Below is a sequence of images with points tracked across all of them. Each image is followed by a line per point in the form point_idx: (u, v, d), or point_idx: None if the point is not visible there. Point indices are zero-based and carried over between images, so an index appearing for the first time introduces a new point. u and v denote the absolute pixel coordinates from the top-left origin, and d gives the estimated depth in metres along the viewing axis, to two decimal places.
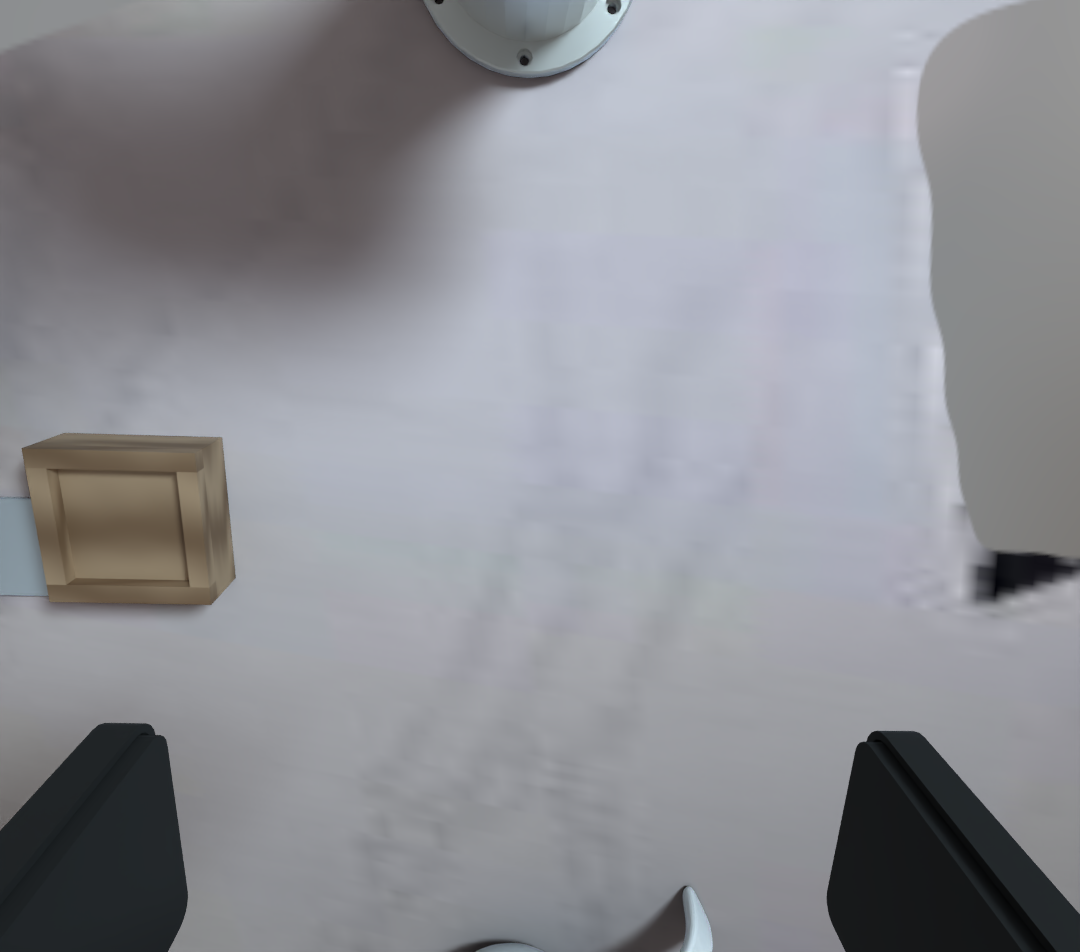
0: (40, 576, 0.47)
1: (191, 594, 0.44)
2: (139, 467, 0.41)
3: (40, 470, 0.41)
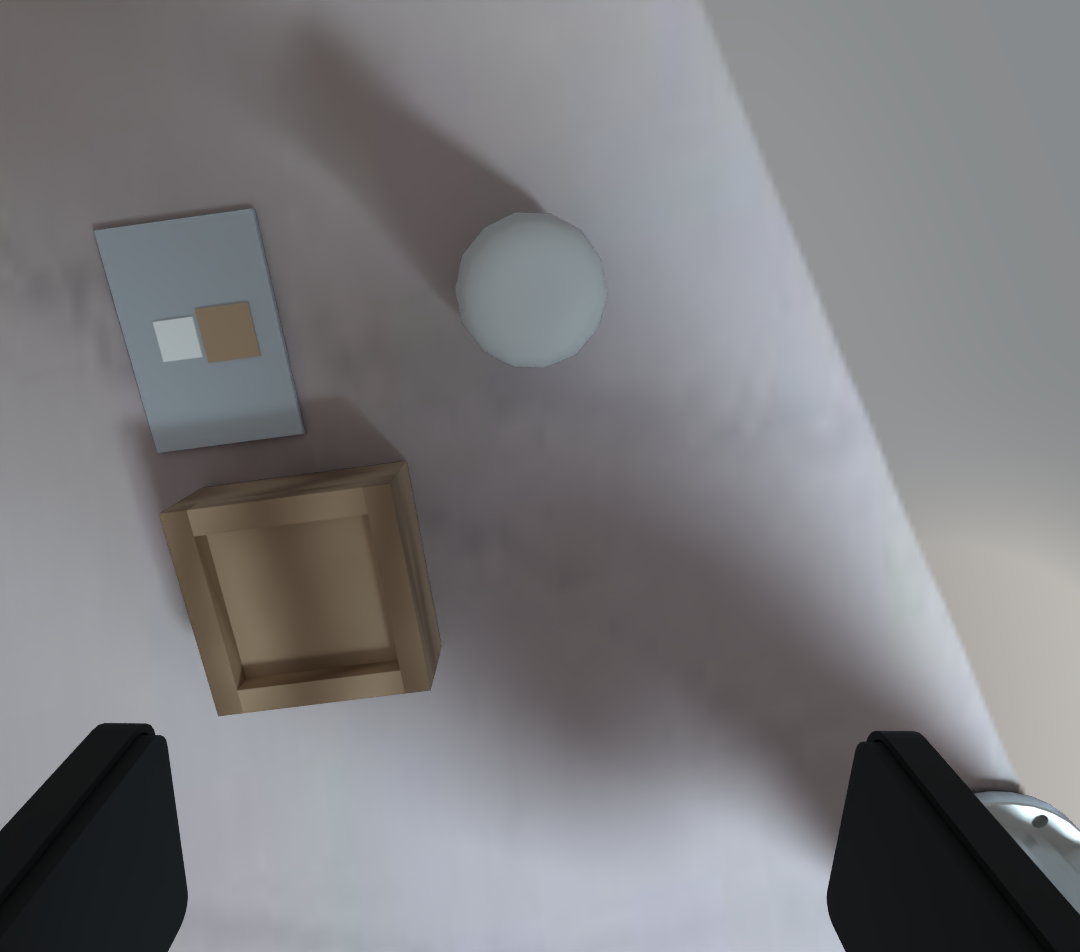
0: (182, 429, 0.32)
1: (226, 692, 0.32)
2: (396, 628, 0.31)
3: (363, 507, 0.29)
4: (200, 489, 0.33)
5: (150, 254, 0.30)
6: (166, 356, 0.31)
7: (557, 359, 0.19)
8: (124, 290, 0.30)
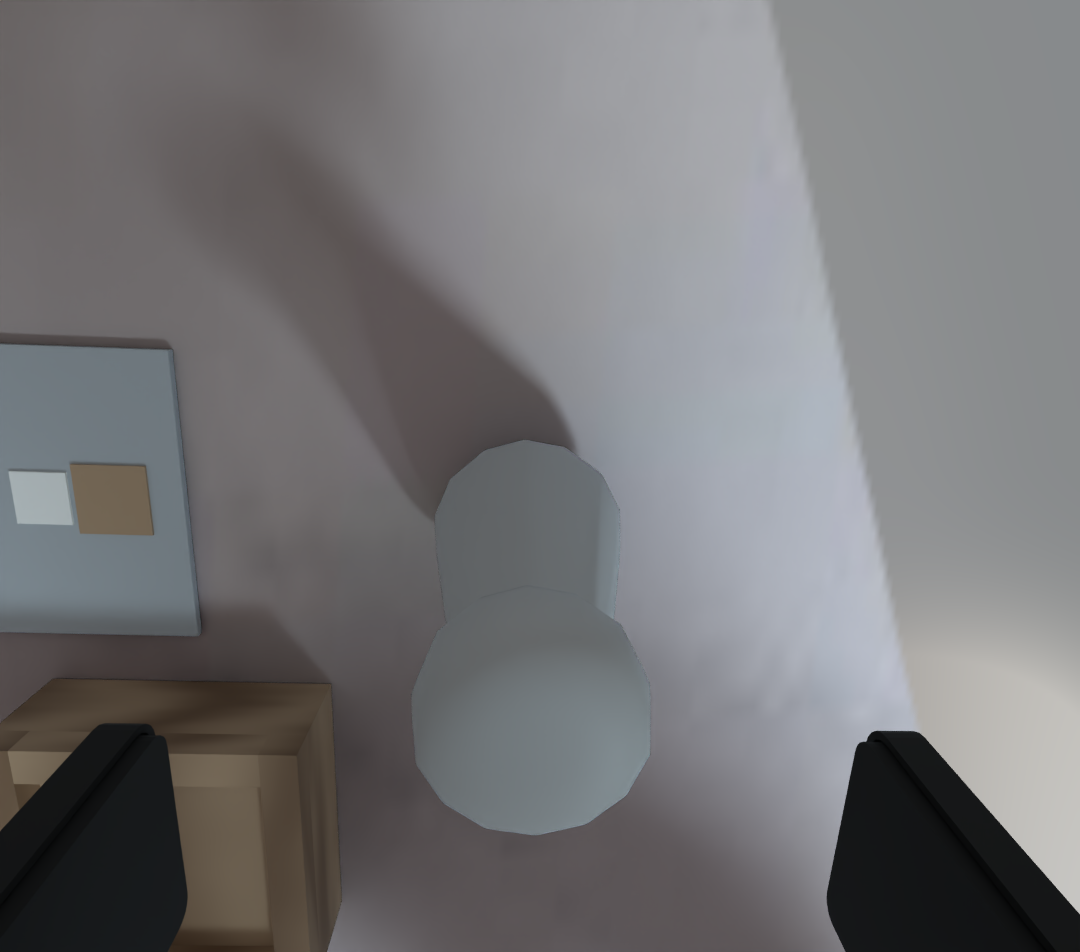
0: (34, 607, 0.24)
1: None
2: (278, 924, 0.23)
3: (255, 778, 0.22)
4: (48, 683, 0.25)
5: (16, 385, 0.22)
6: (21, 517, 0.23)
7: (556, 830, 0.12)
8: None
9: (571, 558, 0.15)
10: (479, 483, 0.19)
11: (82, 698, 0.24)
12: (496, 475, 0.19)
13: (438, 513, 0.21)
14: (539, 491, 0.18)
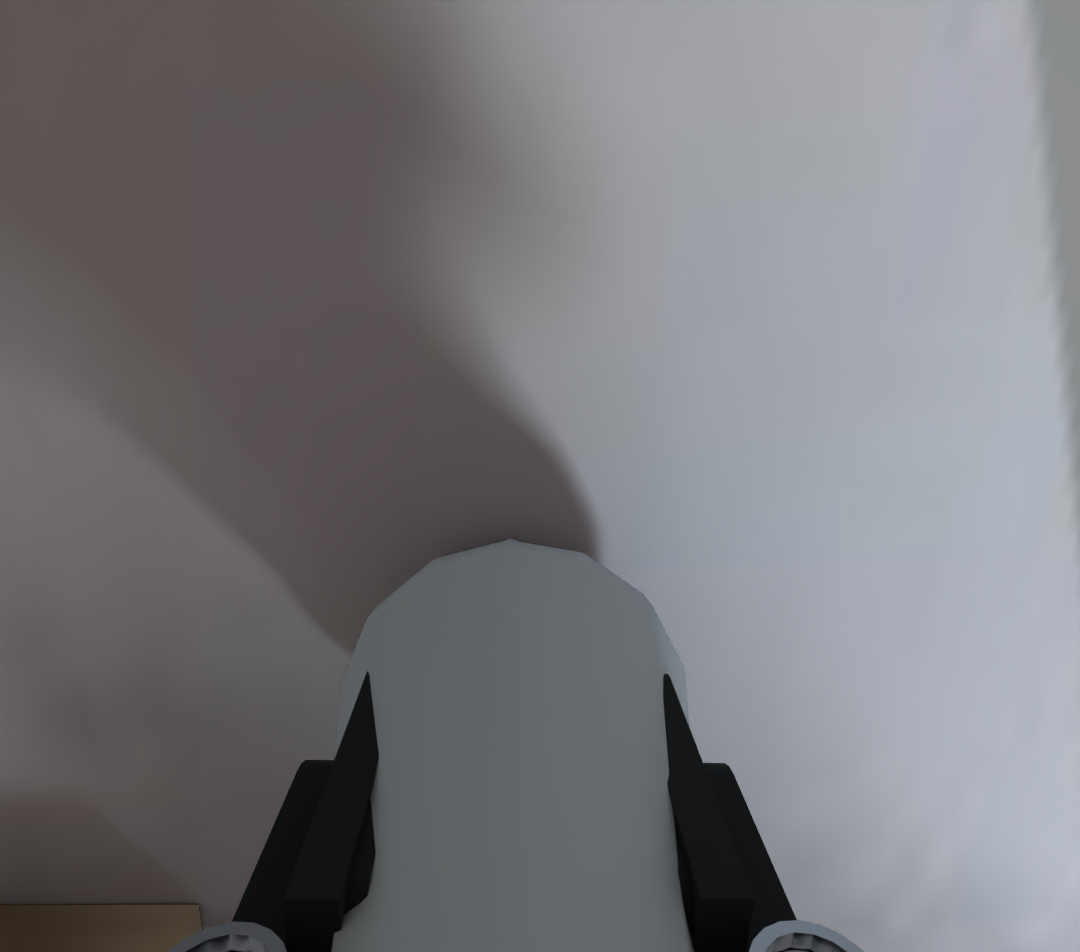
0: None
1: None
2: None
3: None
4: None
5: None
6: None
7: None
8: None
9: None
10: (412, 657, 0.09)
11: None
12: (446, 640, 0.09)
13: (345, 683, 0.11)
14: (538, 701, 0.08)
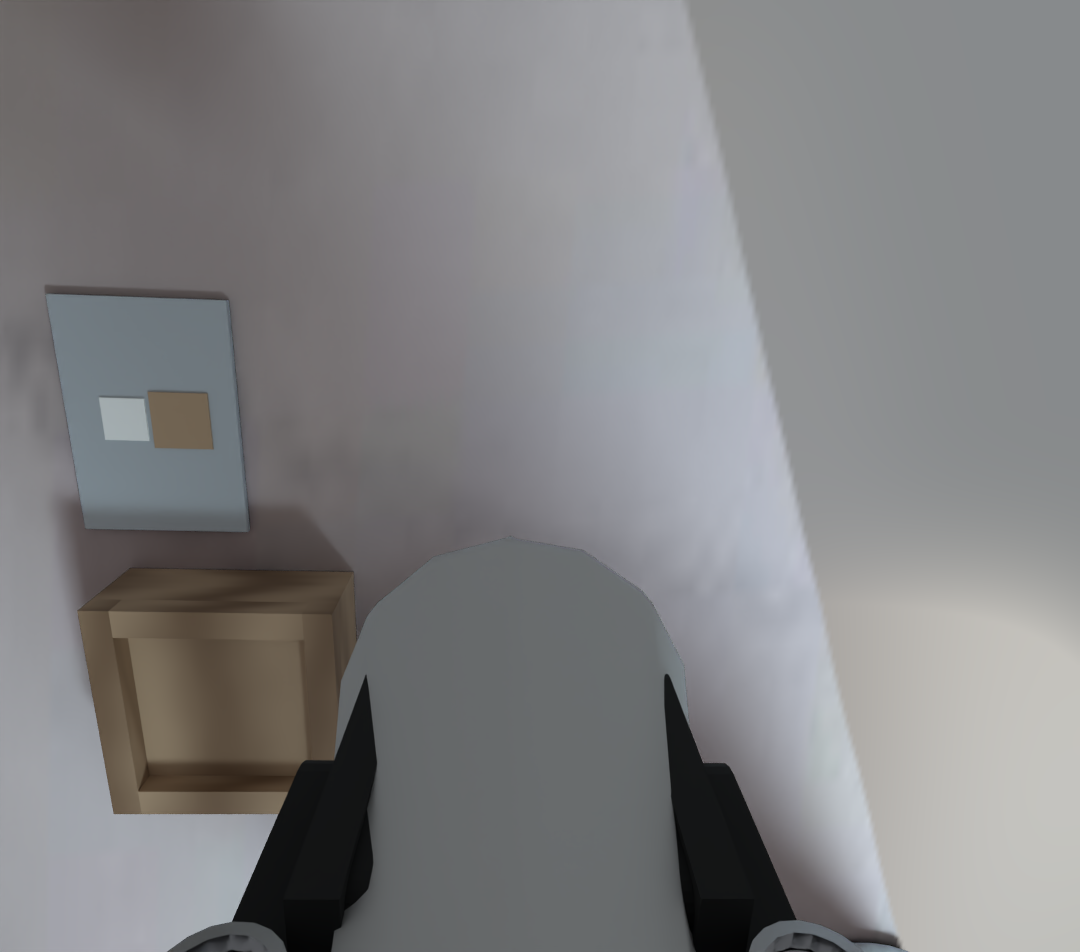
0: (117, 508, 0.30)
1: (126, 792, 0.30)
2: (316, 751, 0.30)
3: (300, 633, 0.28)
4: (127, 571, 0.31)
5: (106, 328, 0.28)
6: (108, 434, 0.29)
7: None
8: (72, 360, 0.28)
9: None
10: (412, 653, 0.09)
11: (157, 580, 0.30)
12: (446, 637, 0.09)
13: (345, 681, 0.11)
14: (538, 697, 0.08)
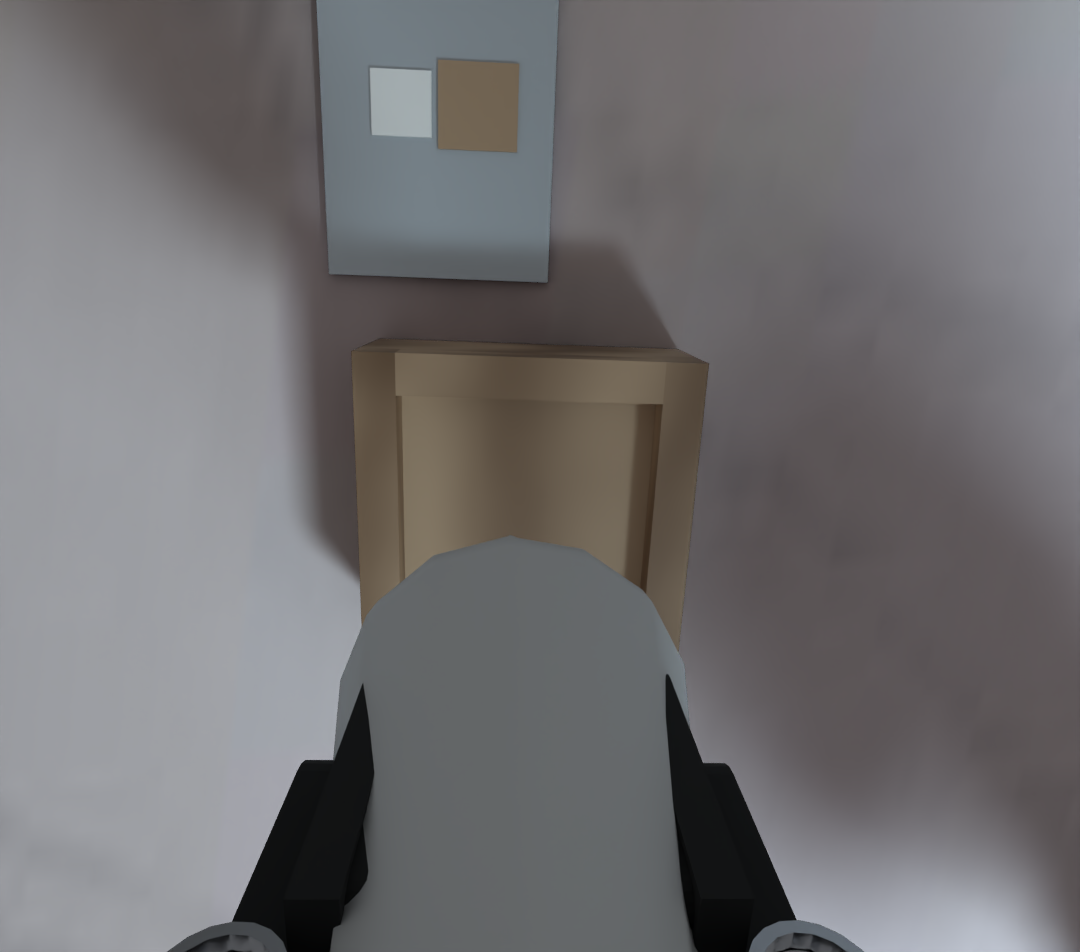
0: (375, 244, 0.22)
1: None
2: (654, 580, 0.21)
3: (659, 392, 0.20)
4: (379, 339, 0.23)
5: None
6: (377, 126, 0.21)
7: None
8: (338, 8, 0.20)
9: None
10: (412, 652, 0.09)
11: (428, 343, 0.22)
12: (447, 636, 0.09)
13: (344, 680, 0.11)
14: (537, 697, 0.08)
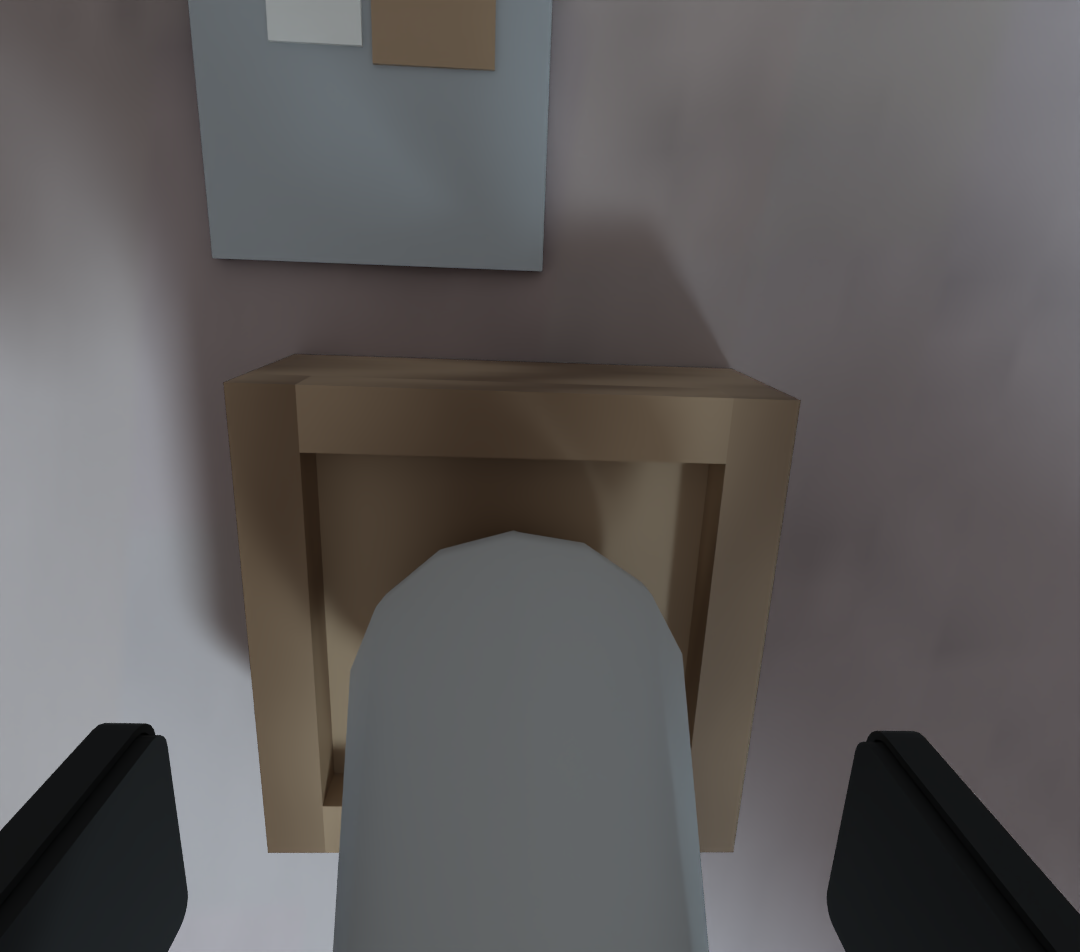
0: (280, 213, 0.14)
1: (298, 808, 0.14)
2: (705, 722, 0.14)
3: (720, 445, 0.12)
4: (293, 356, 0.15)
5: None
6: (276, 27, 0.13)
7: None
8: None
9: (628, 939, 0.06)
10: (421, 641, 0.10)
11: (362, 363, 0.14)
12: (454, 626, 0.10)
13: (355, 670, 0.11)
14: (542, 682, 0.08)
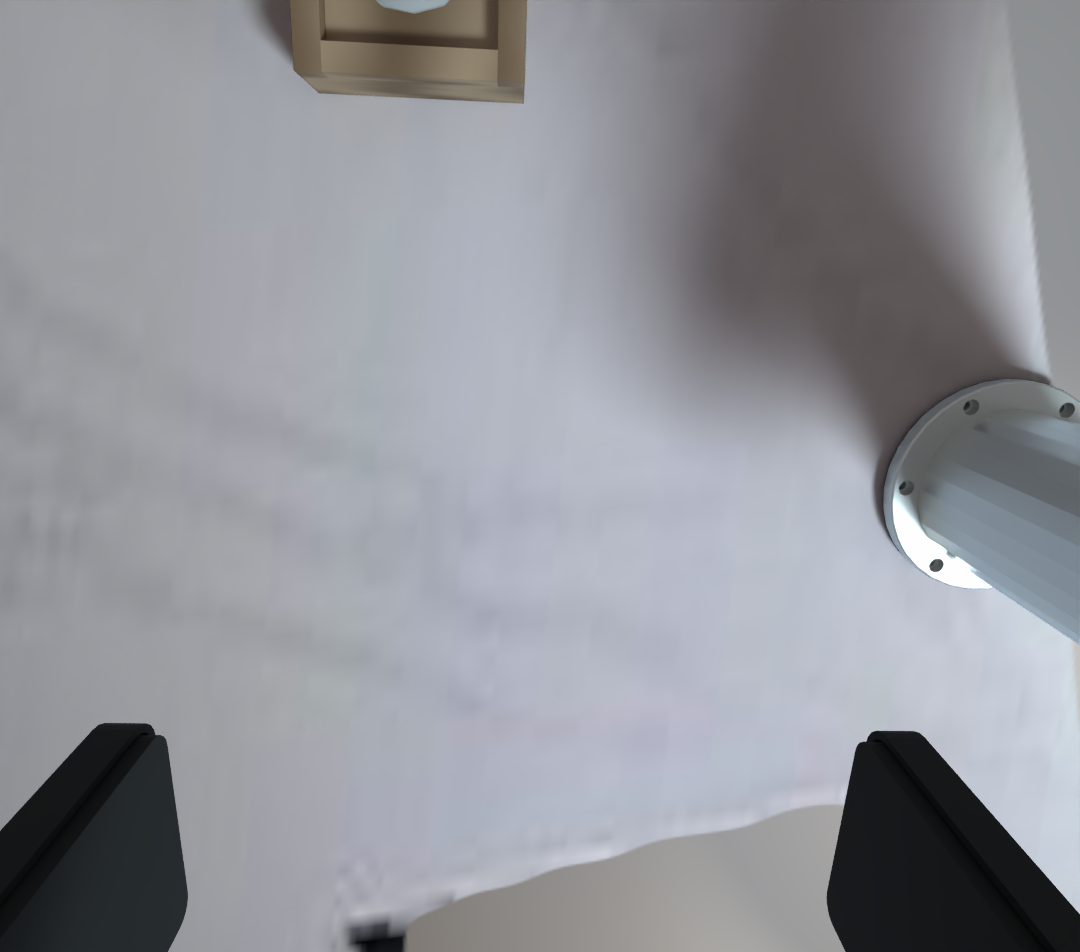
0: None
1: (308, 40, 0.29)
2: None
3: None
4: None
5: None
6: None
7: None
8: None
9: None
10: None
11: None
12: None
13: None
14: None
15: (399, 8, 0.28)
